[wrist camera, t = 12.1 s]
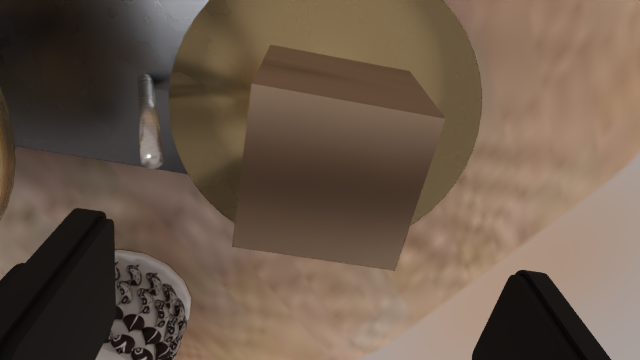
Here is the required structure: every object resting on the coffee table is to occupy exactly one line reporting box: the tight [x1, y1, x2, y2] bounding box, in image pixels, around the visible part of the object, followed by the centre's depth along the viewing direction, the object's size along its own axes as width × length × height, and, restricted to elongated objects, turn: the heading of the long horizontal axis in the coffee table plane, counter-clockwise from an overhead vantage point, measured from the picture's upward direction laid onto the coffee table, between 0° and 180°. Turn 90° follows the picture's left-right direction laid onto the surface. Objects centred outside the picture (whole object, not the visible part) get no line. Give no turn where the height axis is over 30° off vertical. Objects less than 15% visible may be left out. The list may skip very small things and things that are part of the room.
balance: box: [0, 0, 482, 225], centre depth 18 cm, size 14×31×12 cm, turn 79°
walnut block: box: [232, 45, 446, 271], centre depth 17 cm, size 6×6×6 cm
